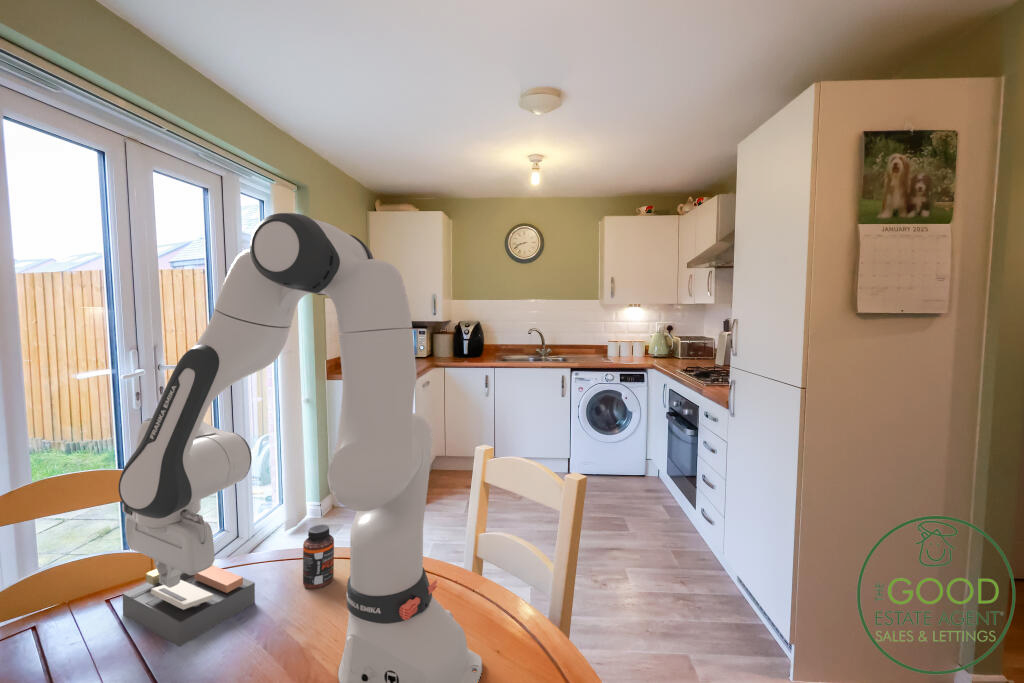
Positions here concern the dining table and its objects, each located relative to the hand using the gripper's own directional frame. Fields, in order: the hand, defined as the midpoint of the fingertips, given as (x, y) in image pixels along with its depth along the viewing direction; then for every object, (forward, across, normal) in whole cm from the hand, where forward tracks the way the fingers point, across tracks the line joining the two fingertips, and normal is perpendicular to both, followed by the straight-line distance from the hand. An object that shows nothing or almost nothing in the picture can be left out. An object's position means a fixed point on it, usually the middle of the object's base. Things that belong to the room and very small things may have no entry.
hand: (169, 583), depth 76 cm
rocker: (+3, 0, -2) cm, 4 cm away
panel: (+8, +3, -5) cm, 10 cm away
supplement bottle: (+8, -11, -22) cm, 26 cm away
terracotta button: (+4, 0, -8) cm, 9 cm away
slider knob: (+4, +9, -3) cm, 11 cm away
